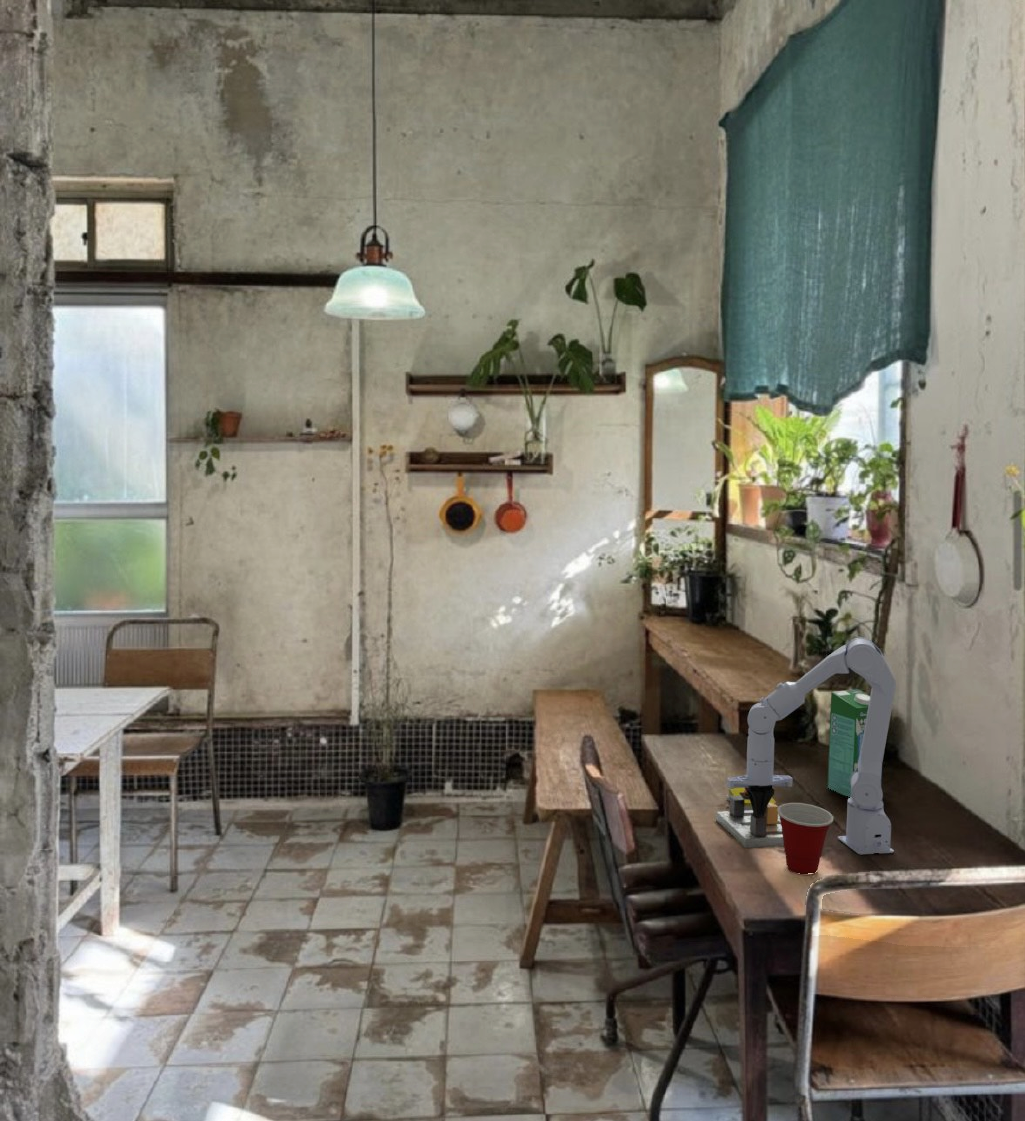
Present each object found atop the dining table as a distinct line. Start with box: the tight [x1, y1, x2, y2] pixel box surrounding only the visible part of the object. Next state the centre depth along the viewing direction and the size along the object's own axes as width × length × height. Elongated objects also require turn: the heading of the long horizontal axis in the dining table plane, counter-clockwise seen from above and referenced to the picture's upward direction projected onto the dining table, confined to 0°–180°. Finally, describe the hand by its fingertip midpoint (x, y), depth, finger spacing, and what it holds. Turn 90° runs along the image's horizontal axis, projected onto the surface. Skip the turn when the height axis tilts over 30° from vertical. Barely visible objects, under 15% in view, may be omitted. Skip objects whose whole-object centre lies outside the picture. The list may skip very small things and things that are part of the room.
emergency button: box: [725, 788, 777, 811], centre depth 234 cm, size 9×4×15 cm
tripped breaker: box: [764, 803, 779, 824], centre depth 216 cm, size 3×2×4 cm
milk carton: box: [827, 688, 883, 798], centre depth 245 cm, size 9×9×25 cm
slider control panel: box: [716, 796, 784, 849], centre depth 216 cm, size 17×14×6 cm
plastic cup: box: [777, 802, 834, 875], centre depth 195 cm, size 11×11×12 cm
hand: (758, 818), depth 216 cm, fingers closed
